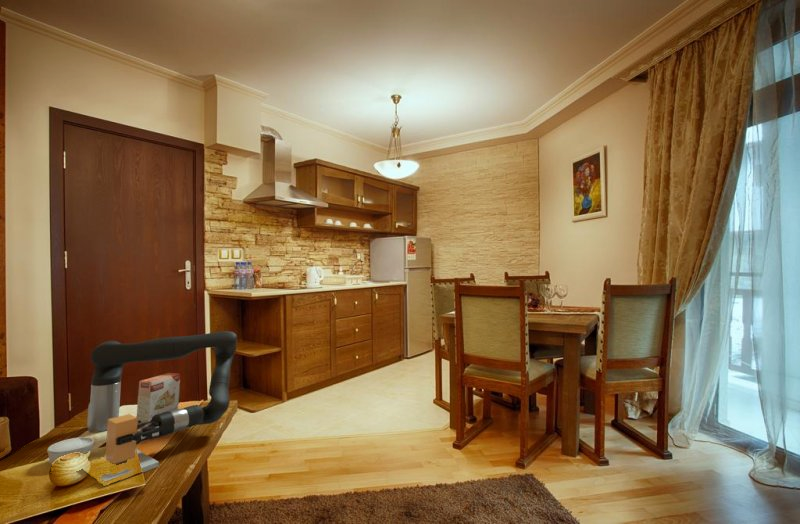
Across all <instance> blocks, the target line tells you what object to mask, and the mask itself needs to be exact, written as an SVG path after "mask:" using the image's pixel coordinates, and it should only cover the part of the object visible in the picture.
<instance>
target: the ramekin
mask: <svg viewBox="0 0 800 524" xmlns="http://www.w3.org/2000/svg"><path fill="white" fill-rule="evenodd" d="M94 444H95V439H94V438H92V437H86V436H84V437H83V436H82V437H81V436H80V437H73V438H67V439H64V440H61V441H58V442H56V443H52V444H51V445H50V446H49V447H48V448H47V451H46V452H47V454H48V460H49V464H50V465H51V464H52V463H53V462H54V461H55V460H56V459H57V458H59V457H61V456H64V455H67V454H70V453H74V452H80V453H83V454H87V453H88V452H89V451H91V452H92V449H93V446H94Z"/></svg>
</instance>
